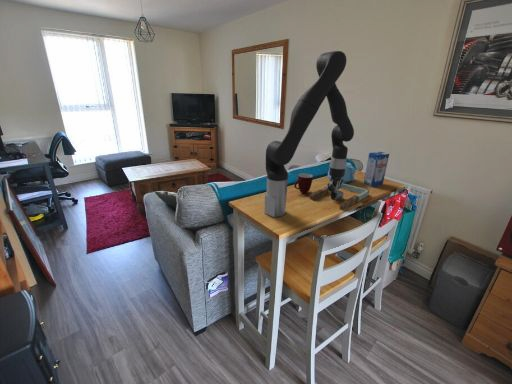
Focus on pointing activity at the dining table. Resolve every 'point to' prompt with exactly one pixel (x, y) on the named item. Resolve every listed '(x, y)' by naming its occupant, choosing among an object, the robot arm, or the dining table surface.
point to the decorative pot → (346, 173)
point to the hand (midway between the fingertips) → (333, 198)
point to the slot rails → (342, 205)
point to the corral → (355, 190)
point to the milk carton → (376, 168)
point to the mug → (304, 182)
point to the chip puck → (339, 196)
